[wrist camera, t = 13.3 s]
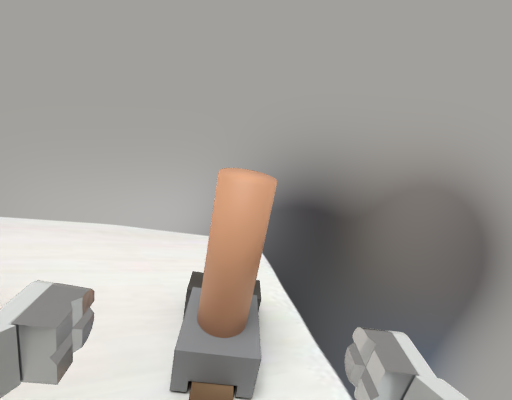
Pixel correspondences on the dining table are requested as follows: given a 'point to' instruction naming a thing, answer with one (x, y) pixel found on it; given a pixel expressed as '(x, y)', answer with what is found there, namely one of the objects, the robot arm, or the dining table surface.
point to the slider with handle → (227, 289)
